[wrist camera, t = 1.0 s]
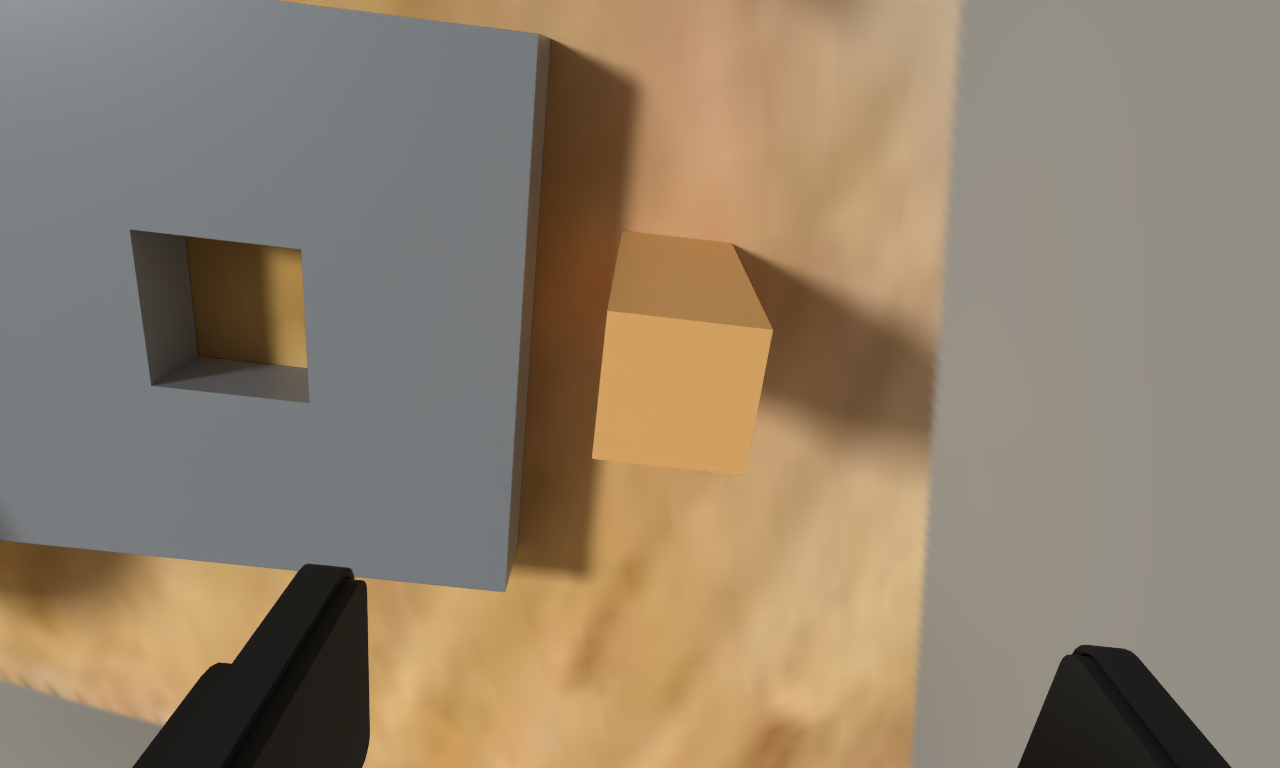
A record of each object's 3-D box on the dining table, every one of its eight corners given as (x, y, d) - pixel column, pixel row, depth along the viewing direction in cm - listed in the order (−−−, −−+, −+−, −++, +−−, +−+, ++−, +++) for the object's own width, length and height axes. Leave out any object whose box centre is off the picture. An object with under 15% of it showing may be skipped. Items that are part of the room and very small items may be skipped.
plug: (622, 230, 27) (607, 310, 18) (732, 243, 27) (772, 329, 18) (610, 335, 29) (591, 458, 20) (714, 347, 29) (745, 475, 20)
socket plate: (-73, -41, 24) (-166, -56, 22) (550, 38, 25) (538, 33, 22) (41, 497, 32) (-17, 538, 29) (517, 547, 32) (504, 592, 30)
